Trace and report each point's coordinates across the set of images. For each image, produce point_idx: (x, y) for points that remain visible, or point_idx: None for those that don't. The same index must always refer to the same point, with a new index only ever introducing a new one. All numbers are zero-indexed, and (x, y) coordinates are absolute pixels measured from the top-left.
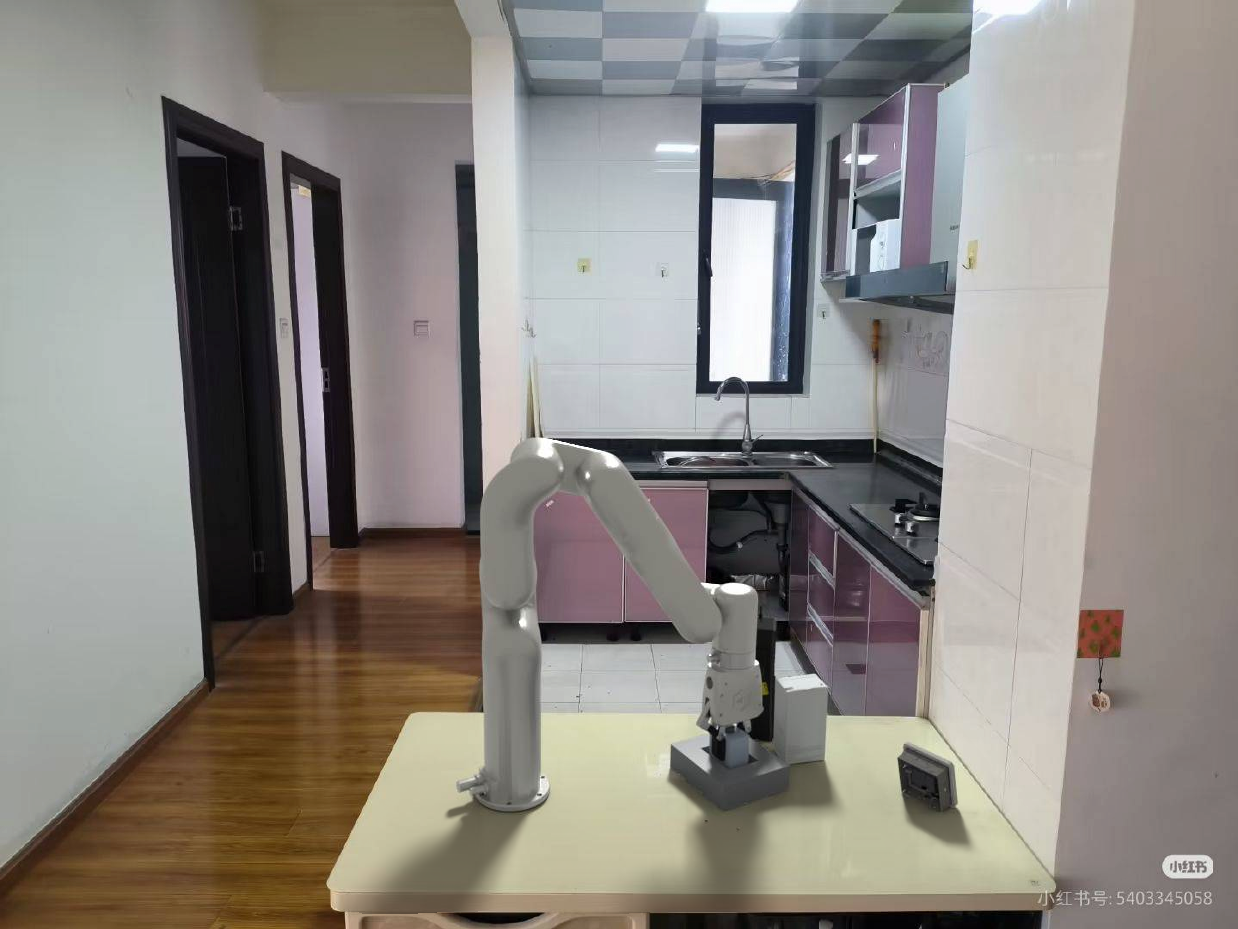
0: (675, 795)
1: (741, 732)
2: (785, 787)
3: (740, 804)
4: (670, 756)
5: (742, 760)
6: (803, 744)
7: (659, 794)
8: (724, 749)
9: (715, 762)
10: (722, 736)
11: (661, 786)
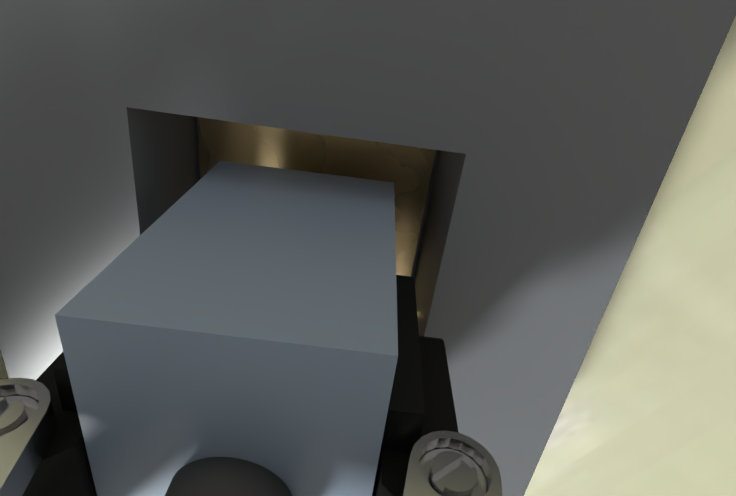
0: (665, 271)
1: (121, 413)
2: None
3: None
4: None
5: (258, 194)
6: None
7: (710, 320)
8: (399, 335)
9: (460, 295)
10: (414, 470)
11: (638, 358)
